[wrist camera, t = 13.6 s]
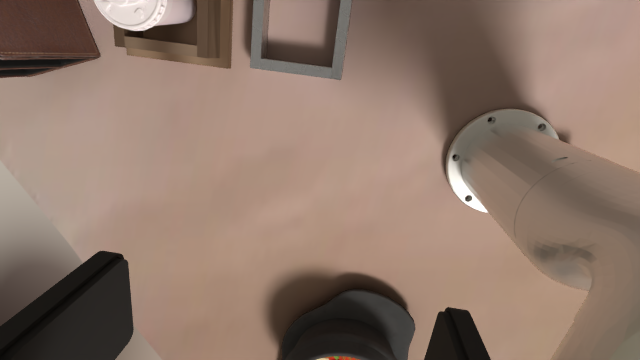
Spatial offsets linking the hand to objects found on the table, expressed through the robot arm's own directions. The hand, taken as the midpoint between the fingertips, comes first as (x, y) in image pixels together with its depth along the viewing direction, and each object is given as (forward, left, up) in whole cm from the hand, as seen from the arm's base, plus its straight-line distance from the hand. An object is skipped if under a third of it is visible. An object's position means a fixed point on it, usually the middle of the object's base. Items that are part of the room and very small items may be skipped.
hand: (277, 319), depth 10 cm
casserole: (-6, +34, -34) cm, 48 cm away
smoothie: (+19, -11, -32) cm, 39 cm away
